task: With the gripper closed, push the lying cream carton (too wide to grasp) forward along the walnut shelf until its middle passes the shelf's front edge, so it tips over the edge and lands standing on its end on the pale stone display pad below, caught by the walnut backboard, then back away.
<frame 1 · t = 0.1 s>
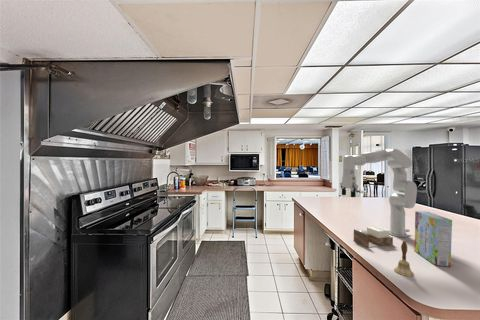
hand: (348, 196, 169), 31 cm above the worktop, fingers open, 9 cm apart
podium: (371, 243, 161), on the worktop
snack box: (431, 258, 136), on the worktop
hand bell: (403, 272, 119), on the worktop
carton: (377, 235, 162), point 5 cm above the worktop, touching podium
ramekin: (361, 234, 180), on the worktop
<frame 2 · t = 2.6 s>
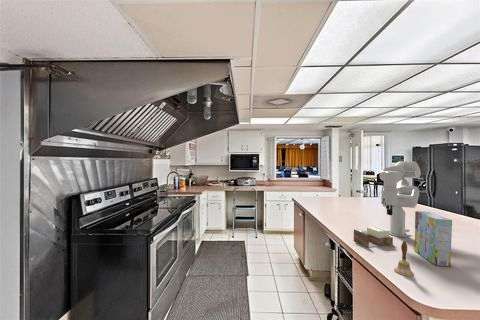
hand: (389, 214, 164), 19 cm above the worktop, fingers closed
nothing on the worktop moved.
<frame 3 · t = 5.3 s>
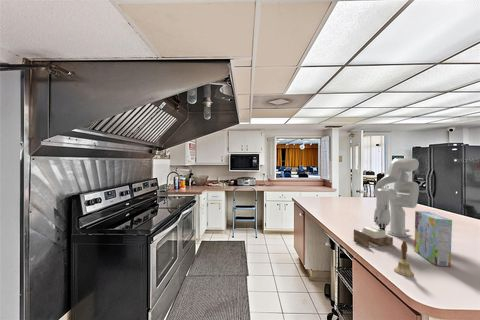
hand: (382, 233, 163), 6 cm above the worktop, fingers closed
carton: (374, 235, 161), point 5 cm above the worktop, touching gripper, podium
everything else where it was.
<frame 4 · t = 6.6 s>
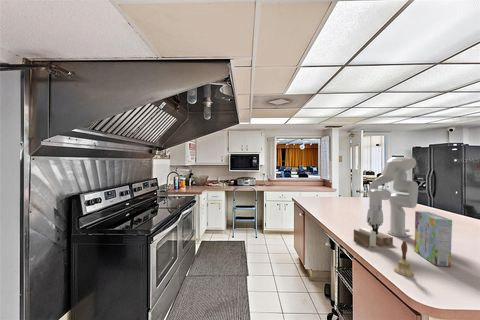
hand: (375, 233, 162), 6 cm above the worktop, fingers closed
carton: (369, 236, 160), point 5 cm above the worktop, tilted 90°, touching podium
everything else where it was.
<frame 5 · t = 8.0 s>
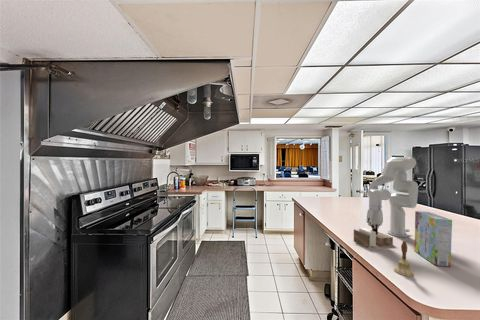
hand: (374, 233, 162), 6 cm above the worktop, fingers closed
nothing on the worktop moved.
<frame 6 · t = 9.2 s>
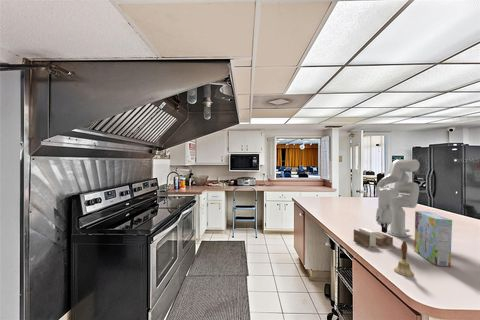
hand: (384, 232, 164), 7 cm above the worktop, fingers closed
nothing on the worktop moved.
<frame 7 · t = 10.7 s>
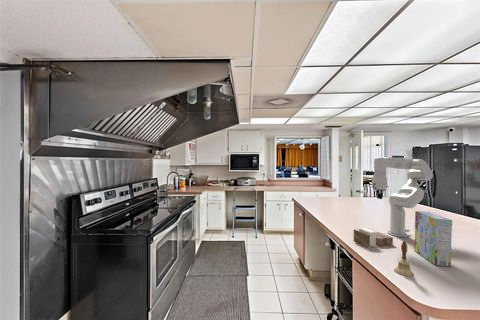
hand: (379, 198, 173), 29 cm above the worktop, fingers closed
nothing on the worktop moved.
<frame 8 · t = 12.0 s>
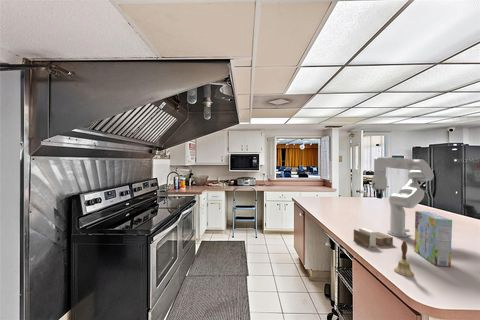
hand: (379, 198, 173), 29 cm above the worktop, fingers closed
nothing on the worktop moved.
at the end: carton tilted 90°; carton inside the target area (2.1 cm from its centre), point 4.9 cm above the worktop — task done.
